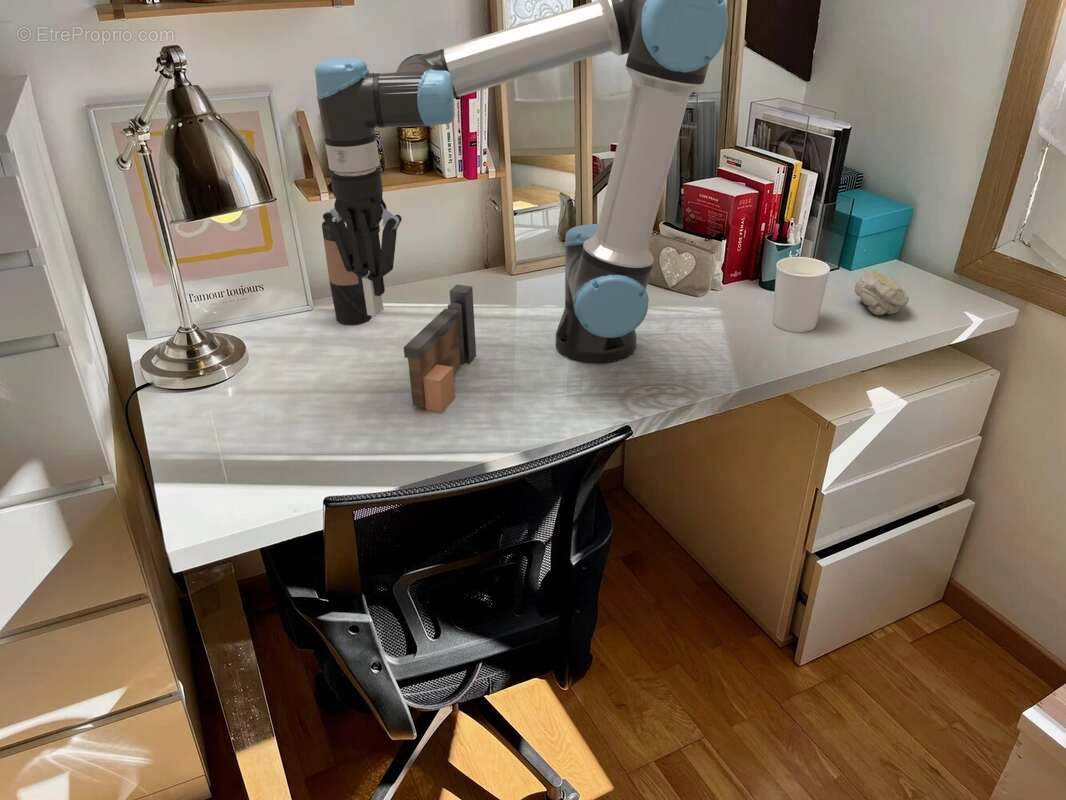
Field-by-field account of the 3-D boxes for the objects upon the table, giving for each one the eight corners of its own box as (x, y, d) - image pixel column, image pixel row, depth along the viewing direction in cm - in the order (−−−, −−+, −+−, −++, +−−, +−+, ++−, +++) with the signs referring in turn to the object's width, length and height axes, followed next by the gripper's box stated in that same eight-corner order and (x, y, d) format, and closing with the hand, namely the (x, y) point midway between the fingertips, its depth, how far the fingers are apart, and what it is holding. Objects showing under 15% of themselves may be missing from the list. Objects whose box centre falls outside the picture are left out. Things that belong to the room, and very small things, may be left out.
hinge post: (476, 356, 158) (472, 286, 151) (469, 364, 156) (465, 293, 149) (461, 354, 159) (456, 284, 152) (454, 361, 157) (449, 290, 150)
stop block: (455, 398, 145) (452, 367, 142) (442, 412, 141) (439, 381, 138) (439, 395, 146) (436, 364, 143) (426, 409, 142) (423, 378, 139)
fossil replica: (874, 295, 180) (838, 308, 176) (877, 257, 176) (840, 270, 172) (921, 312, 170) (884, 326, 166) (925, 273, 166) (887, 287, 163)
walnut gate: (454, 358, 156) (450, 302, 150) (467, 360, 155) (464, 304, 149) (409, 406, 141) (403, 346, 136) (423, 409, 141) (418, 348, 135)
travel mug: (365, 327, 170) (352, 230, 160) (329, 324, 171) (314, 228, 161) (378, 311, 176) (367, 217, 166) (343, 308, 178) (330, 215, 167)
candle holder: (764, 329, 166) (772, 271, 160) (772, 310, 174) (780, 254, 168) (817, 337, 163) (827, 278, 157) (822, 317, 170) (832, 260, 164)
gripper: (304, 173, 128) (329, 316, 140) (380, 179, 124) (399, 326, 136) (331, 160, 134) (353, 298, 146) (405, 165, 130) (421, 307, 142)
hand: (375, 312), depth 141 cm, fingers closed
